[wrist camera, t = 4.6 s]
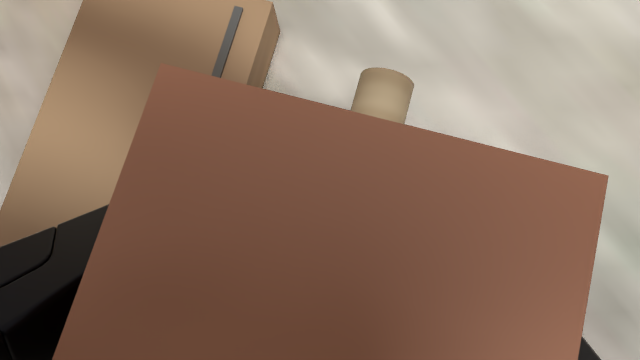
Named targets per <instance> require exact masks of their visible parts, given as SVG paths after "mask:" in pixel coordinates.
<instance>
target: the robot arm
mask: <svg viewBox="0 0 640 360" xmlns="http://www.w3.org/2000/svg"><path fill="white" fill-rule="evenodd" d="M108 206H109V204H108V205H105V206H103V207H100V208H98V209H95V210H93V211H90V212H88V213H85V214H83V215H80V216H78V217H75V218H73V219H70V220H68V221H65V222H63V223H60V224H58V225H57V228H56V227H54V226H53V227H50V228H47V229H45V230H42V231H40V232H37V233H35V234H32V235H30V236H27V237H25V238H22V239H19V240H17V241H14V242H11V243H9V244H6V245H3V246H1V247H0V360H52V358H53V356H54V353H55V350H56V348H57V345H58V342H59V339H60V337H61V334H62V331H63V329H64V326H65V323H66V320H67V318H68V315H69V312H70V309H71V307H72V304H73V301H74V299H75V296H76V293H77V290H78V288H79V285H80V282H81V279H82V277H83V274H84V271H85V269H86V266H87V263H88V260H89V258H90V255H91V252H92V249H93V247H94V244H95V241H96V239H97V236H98V233H99V230H100V228H101V225H102V222H103V219H104V217H105V214H106V211H107V209H108ZM578 360H601V359H600V358H599V356H598V355H597V354H596V353H595V351H594V350H593V349H592V348H591V347H590V345H589V344H588V343H587V342H586V340H585V339H584V338H583V337H581V343H580V349H579V355H578Z"/></svg>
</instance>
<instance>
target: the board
mask: <svg viewBox="0 0 640 360" xmlns="http://www.w3.org/2000/svg"><path fill="white" fill-rule="evenodd" d="M279 34H280V28H279V24H278V21H277V17H276V13H275V9H274V5H273V2H270V1H266V0H83V2H82V5H81V7H80V10H79V12H78V15H77V17H76V20H75V22H74V25H73V27H72V30H71V32H70V35H69V37H68V40H67V43H66V45H65V48H64V50H63V53H62V55H61V58H60V60H59V63H58V65H57V68H56V70H55V73H54V76H53V78H52V81H51V83H50V86H49V88H48V91H47V93H46V96H45V98H44V101H43V103H42V106H41V108H40V111H39V114H38V116H37V119H36V121H35V124H34V126H33V129H32V131H31V134H30V136H29V139H28V141H27V144H26V147H25V149H24V152H23V154H22V157H21V159H20V162H19V164H18V167H17V169H16V172H15V174H14V177H13V179H12V182H11V185H10V187H9V190H8V192H7V195H6V197H5V200H4V202H3V205H2V207H1V210H0V247H1V246H3V245H6V244H9V243H11V242H14V241H17V240H19V239H22V238H25V237H27V236H30V235H32V234H35V233H37V232H40V231H42V230H45V229H47V228H50V227H53V226H54V227H56V228H57V225H58V224H60V223H63V222H65V221H68V220H70V219H73V218H75V217H78V216H80V215H83V214H85V213H88V212H90V211H93V210H95V209H98V208H100V207H103V206H105V205H108V204H109V203H110V200H111V198H112V195H113V192H114V189H115V187H116V184H117V181H118V179H119V176H120V173H121V170H122V168H123V165H124V162H125V159H126V157H127V154H128V151H129V149H130V146H131V143H132V140H133V138H134V135H135V132H136V129H137V127H138V124H139V121H140V119H141V116H142V113H143V110H144V108H145V105H146V102H147V100H148V97H149V94H150V91H151V89H152V86H153V83H154V80H155V78H156V75H157V72H158V70H159V67H160V64H161V63H163V64H167V65H171V66H175V67H179V68H183V69H187V70H191V71H195V72H199V73H203V74H207V75H211V76H215V77H219V78H223V79H227V80H231V81H235V82H238V83H242V84H246V85H250V86H254V87H258V88H263V85H264V81H265V78H266V75H267V72H268V69H269V65H270V62H271V59H272V56H273V53H274V49H275V46H276V43H277V40H278V37H279Z"/></svg>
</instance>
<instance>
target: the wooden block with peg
mask: <svg viewBox="0 0 640 360" xmlns="http://www.w3.org/2000/svg"><path fill="white" fill-rule="evenodd" d="M413 88H414V84H413V82H412V80H411V79H410V78H408V77H407V76H405V75H404V74H402V73H400V72H397V71H394V70H391V69H386V68H368V69H365V70H364V71H362V73H361V75H360V79H359V82H358V86H357V90H356V93H355V97H354V100H353V104H352V107H351V111H350V110H346V109H342V108H338V107H334V106H330V105H326V104H322V103H318V102H314V101H310V100H306V99H302V98H298V97H294V96H290V95H286V94H282V93H278V92H274V91H270V90H266V89H262V88H258V87H254V86H250V85H246V84H242V83H238V82H235V81H231V80H227V79H223V78H219V77H215V76H211V75H207V74H203V73H199V72H195V71H191V70H187V69H183V68H179V67H175V66H171V65H167V64H163V63H161V64H160V67H159V70H158V72H157V75H156V78H155V80H154V83H153V86H152V89H151V91H150V94H149V97H148V100H147V102H146V105H145V108H144V110H143V113H142V116H141V119H140V121H139V124H138V127H137V129H136V132H135V135H134V138H133V140H132V143H131V146H130V149H129V151H128V154H127V157H126V159H125V162H124V165H123V168H122V170H121V173H120V176H119V179H118V181H117V184H116V187H115V189H114V192H113V195H112V198H111V200H110V203H109V206H108V209H107V211H106V214H105V217H104V219H103V222H102V225H101V228H100V230H99V233H98V236H97V239H96V241H95V244H94V247H93V249H92V252H91V255H90V258H89V260H88V263H87V266H86V269H85V271H84V274H83V277H82V279H81V282H80V285H79V288H78V290H77V293H76V296H75V299H74V301H73V304H72V307H71V309H70V312H69V315H68V318H67V320H66V323H65V326H64V329H63V331H62V334H61V337H60V339H59V342H58V345H57V348H56V350H55V353H54V356H53V358H52V360H578V355H579V349H580V343H581V337H582V331H583V325H584V319H585V313H586V307H587V301H588V295H589V289H590V283H591V277H592V271H593V265H594V259H595V253H596V247H597V241H598V235H599V229H600V223H601V217H602V211H603V205H604V200H605V194H606V188H607V182H608V176H607V175H603V174H599V173H596V172H592V171H588V170H584V169H580V168H576V167H572V166H568V165H564V164H560V163H556V162H552V161H548V160H544V159H540V158H536V157H532V156H528V155H524V154H520V153H516V152H512V151H508V150H504V149H500V148H496V147H492V146H488V145H484V144H480V143H477V142H473V141H469V140H465V139H461V138H457V137H453V136H449V135H445V134H441V133H437V132H433V131H429V130H425V129H421V128H417V127H413V126H409V125H405V124H404V123H405V119H406V115H407V111H408V107H409V103H410V99H411V95H412V91H413Z"/></svg>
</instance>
